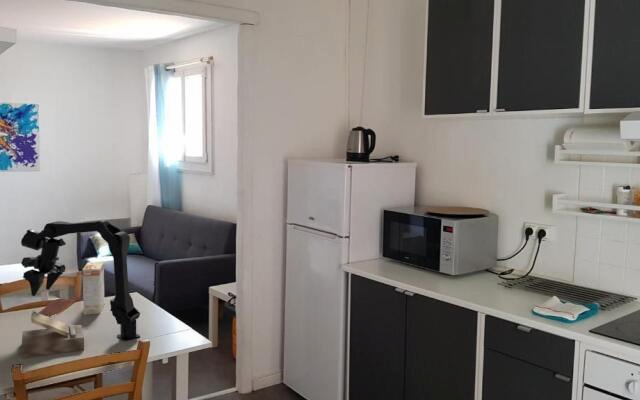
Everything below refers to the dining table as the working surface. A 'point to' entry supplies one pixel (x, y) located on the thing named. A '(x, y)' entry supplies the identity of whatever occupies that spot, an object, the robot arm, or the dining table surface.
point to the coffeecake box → (93, 287)
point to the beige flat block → (51, 341)
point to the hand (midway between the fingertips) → (40, 292)
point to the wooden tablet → (56, 306)
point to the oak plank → (49, 323)
